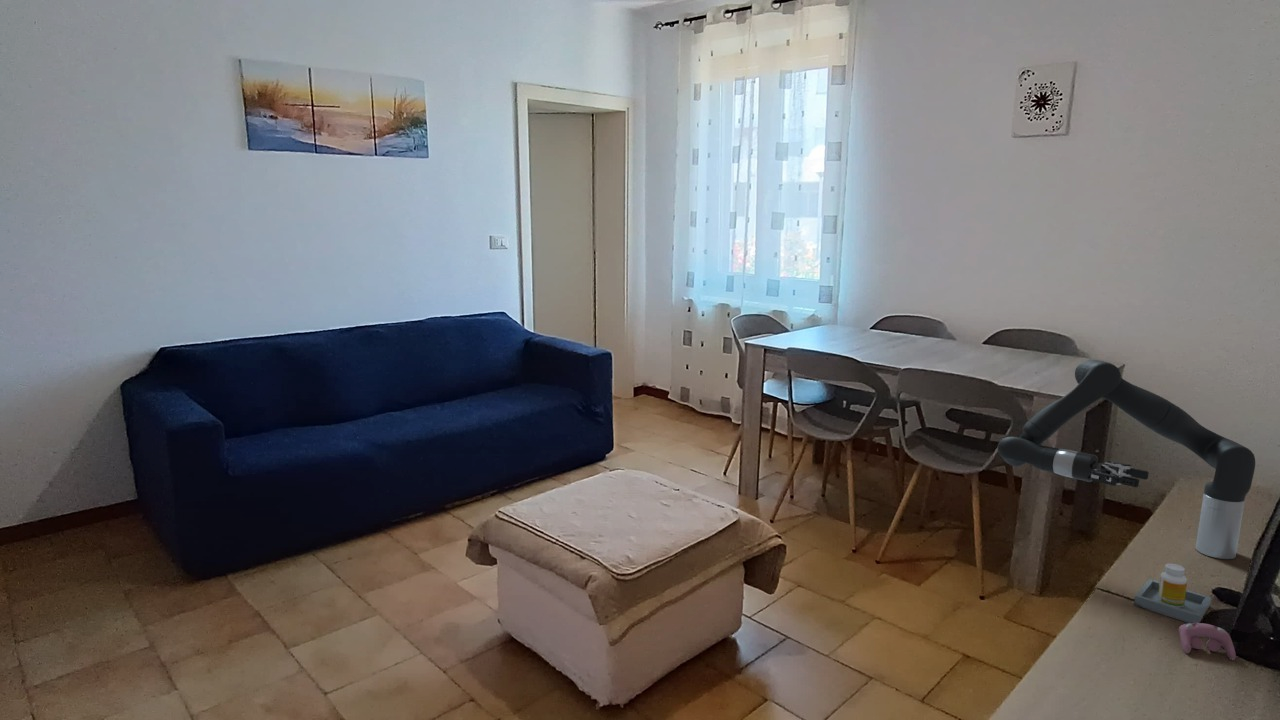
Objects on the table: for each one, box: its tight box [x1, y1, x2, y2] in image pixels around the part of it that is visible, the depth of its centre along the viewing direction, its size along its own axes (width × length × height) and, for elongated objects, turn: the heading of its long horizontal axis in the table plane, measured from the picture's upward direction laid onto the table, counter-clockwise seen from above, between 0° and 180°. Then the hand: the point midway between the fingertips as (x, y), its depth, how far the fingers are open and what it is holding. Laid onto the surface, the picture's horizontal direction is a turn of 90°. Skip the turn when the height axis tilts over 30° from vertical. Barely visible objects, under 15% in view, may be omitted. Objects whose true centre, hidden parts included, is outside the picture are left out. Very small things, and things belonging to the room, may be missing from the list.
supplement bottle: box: [1158, 563, 1188, 608], centre depth 181 cm, size 5×5×10 cm
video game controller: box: [1178, 622, 1237, 661], centre depth 162 cm, size 10×5×7 cm, turn 72°
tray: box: [1133, 578, 1212, 623], centre depth 182 cm, size 13×13×2 cm
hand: (1143, 479), depth 191 cm, fingers open, 8 cm apart
